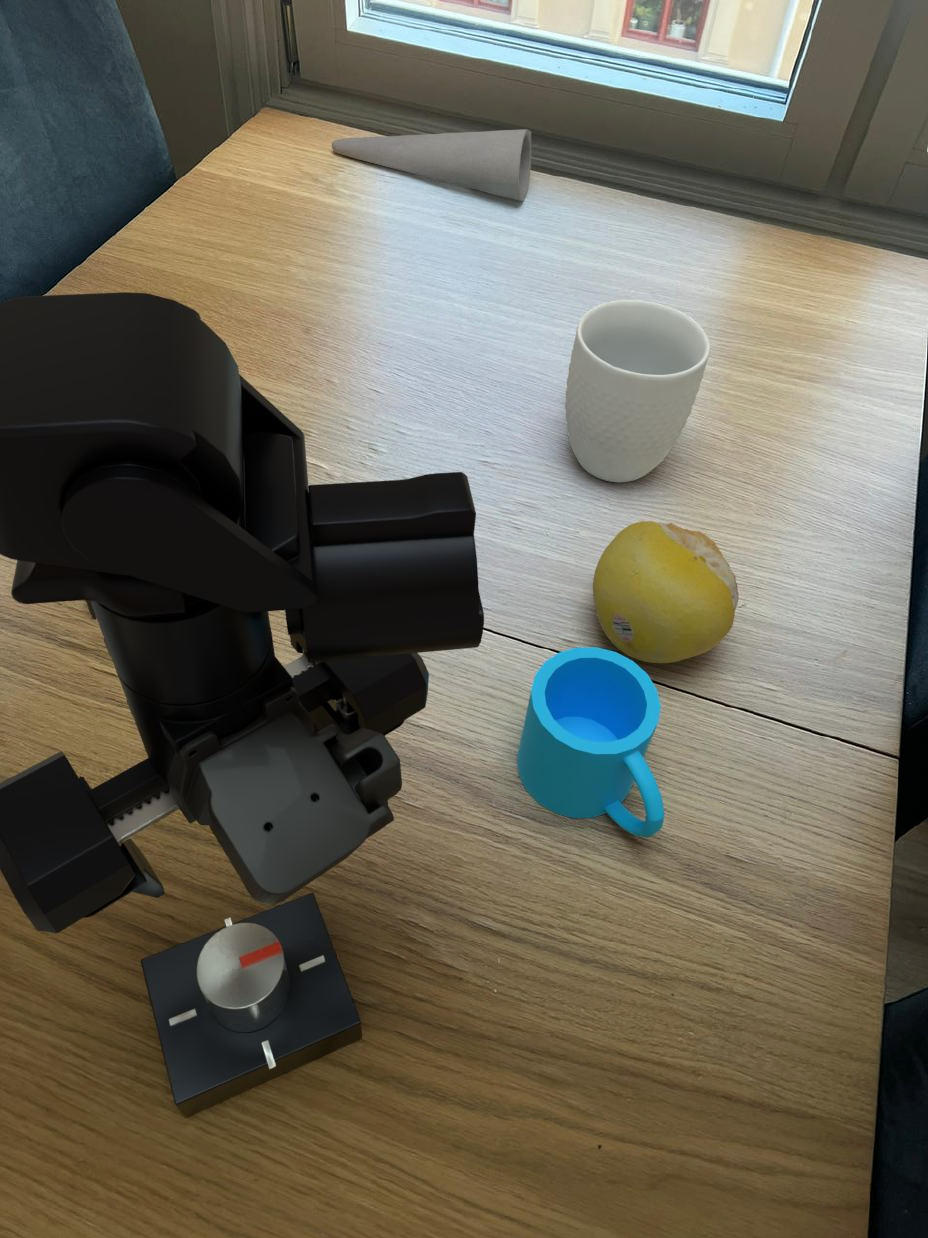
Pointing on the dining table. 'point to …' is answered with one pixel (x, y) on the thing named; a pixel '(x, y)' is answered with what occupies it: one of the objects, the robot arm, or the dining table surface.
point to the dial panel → (237, 1061)
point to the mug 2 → (591, 738)
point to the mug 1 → (632, 386)
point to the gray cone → (453, 158)
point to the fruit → (664, 592)
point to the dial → (243, 977)
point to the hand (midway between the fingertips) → (242, 835)
